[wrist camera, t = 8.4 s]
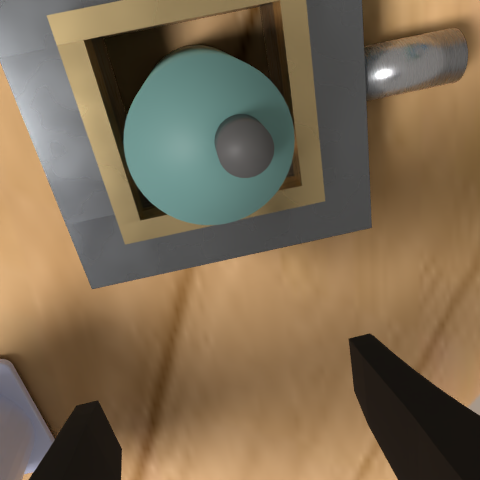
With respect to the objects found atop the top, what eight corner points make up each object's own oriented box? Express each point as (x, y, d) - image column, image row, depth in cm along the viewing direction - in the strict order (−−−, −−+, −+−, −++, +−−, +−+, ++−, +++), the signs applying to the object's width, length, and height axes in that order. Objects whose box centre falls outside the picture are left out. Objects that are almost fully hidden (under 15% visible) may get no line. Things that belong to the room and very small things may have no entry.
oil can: (160, 169, 18) (148, 256, 11) (129, 58, 16) (92, 79, 9) (261, 147, 19) (312, 220, 12) (243, 34, 17) (292, 38, 9)
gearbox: (101, 260, 20) (86, 305, 17) (-12, -40, 15) (-68, -61, 11) (431, 188, 20) (480, 218, 17) (440, -129, 15) (513, -173, 12)
